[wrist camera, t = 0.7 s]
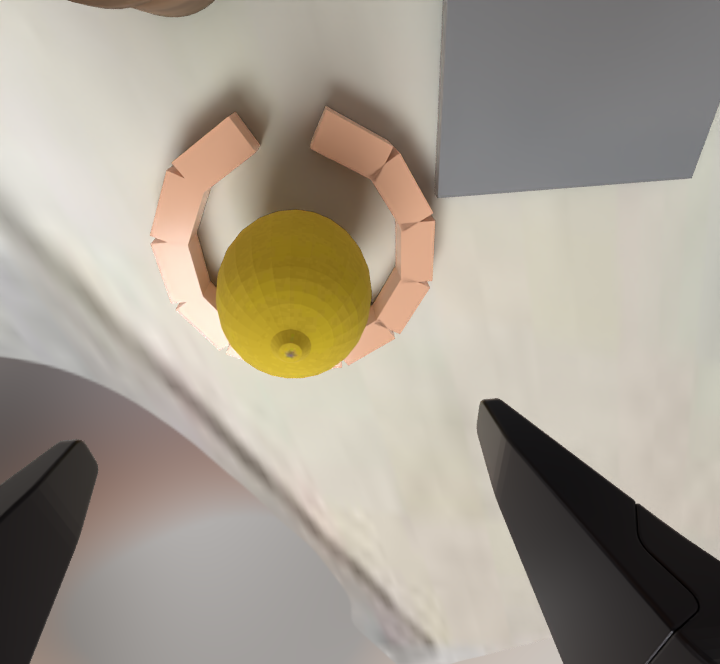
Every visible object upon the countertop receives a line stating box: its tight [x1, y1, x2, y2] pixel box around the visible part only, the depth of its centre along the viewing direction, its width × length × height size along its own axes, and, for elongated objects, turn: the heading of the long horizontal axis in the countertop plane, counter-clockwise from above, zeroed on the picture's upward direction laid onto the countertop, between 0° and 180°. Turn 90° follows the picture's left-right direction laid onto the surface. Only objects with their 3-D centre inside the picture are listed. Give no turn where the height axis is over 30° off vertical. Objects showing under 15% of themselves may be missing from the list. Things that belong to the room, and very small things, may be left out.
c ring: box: [150, 106, 435, 368], centre depth 18 cm, size 11×11×2 cm
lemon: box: [216, 209, 372, 378], centre depth 15 cm, size 6×6×8 cm
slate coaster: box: [434, 0, 720, 198], centre depth 15 cm, size 11×11×1 cm
